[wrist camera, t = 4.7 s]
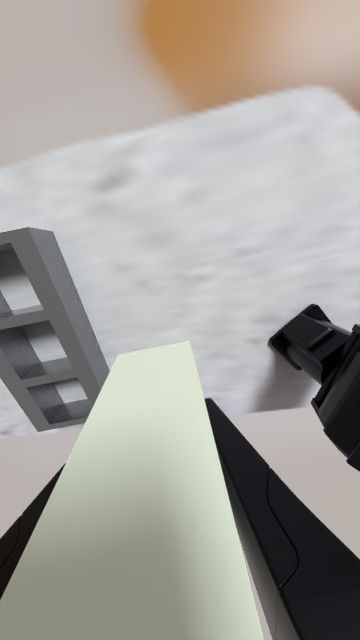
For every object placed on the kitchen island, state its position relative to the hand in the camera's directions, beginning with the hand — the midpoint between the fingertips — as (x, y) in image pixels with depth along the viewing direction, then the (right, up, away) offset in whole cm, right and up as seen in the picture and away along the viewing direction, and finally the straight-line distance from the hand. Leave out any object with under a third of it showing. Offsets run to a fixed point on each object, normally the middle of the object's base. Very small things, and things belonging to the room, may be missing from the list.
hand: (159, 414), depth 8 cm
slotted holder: (-13, +2, +12) cm, 18 cm away
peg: (0, +1, +2) cm, 2 cm away
